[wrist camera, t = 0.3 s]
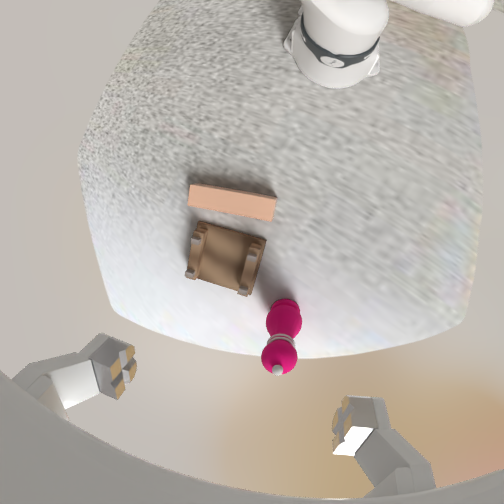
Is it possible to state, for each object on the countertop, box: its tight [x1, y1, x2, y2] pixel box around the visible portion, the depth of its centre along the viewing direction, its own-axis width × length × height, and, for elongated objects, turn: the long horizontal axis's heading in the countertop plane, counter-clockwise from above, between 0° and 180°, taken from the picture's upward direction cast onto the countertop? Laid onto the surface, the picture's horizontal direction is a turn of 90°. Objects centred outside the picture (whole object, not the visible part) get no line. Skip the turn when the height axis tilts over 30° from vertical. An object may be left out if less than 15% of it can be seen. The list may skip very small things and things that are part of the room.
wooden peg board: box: [185, 221, 266, 297], centre depth 55 cm, size 12×14×6 cm
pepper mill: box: [261, 299, 302, 376], centre depth 50 cm, size 7×7×20 cm
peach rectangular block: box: [188, 183, 277, 222], centre depth 52 cm, size 4×16×4 cm, turn 80°
